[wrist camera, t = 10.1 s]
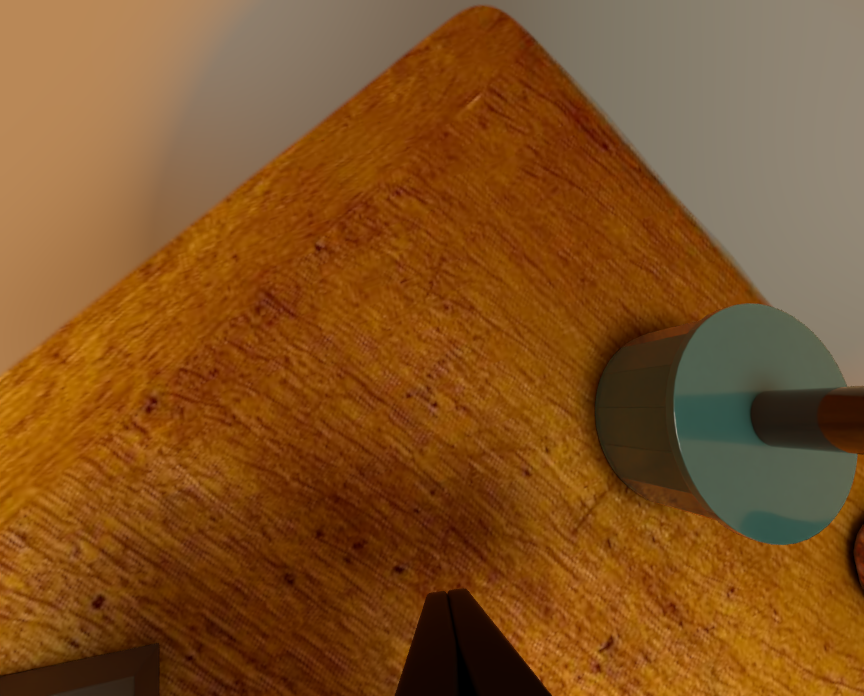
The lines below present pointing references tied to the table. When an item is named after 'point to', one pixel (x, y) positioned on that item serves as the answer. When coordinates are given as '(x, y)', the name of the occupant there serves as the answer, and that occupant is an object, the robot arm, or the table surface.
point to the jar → (643, 419)
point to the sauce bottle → (860, 555)
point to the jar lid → (763, 424)
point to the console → (92, 676)
